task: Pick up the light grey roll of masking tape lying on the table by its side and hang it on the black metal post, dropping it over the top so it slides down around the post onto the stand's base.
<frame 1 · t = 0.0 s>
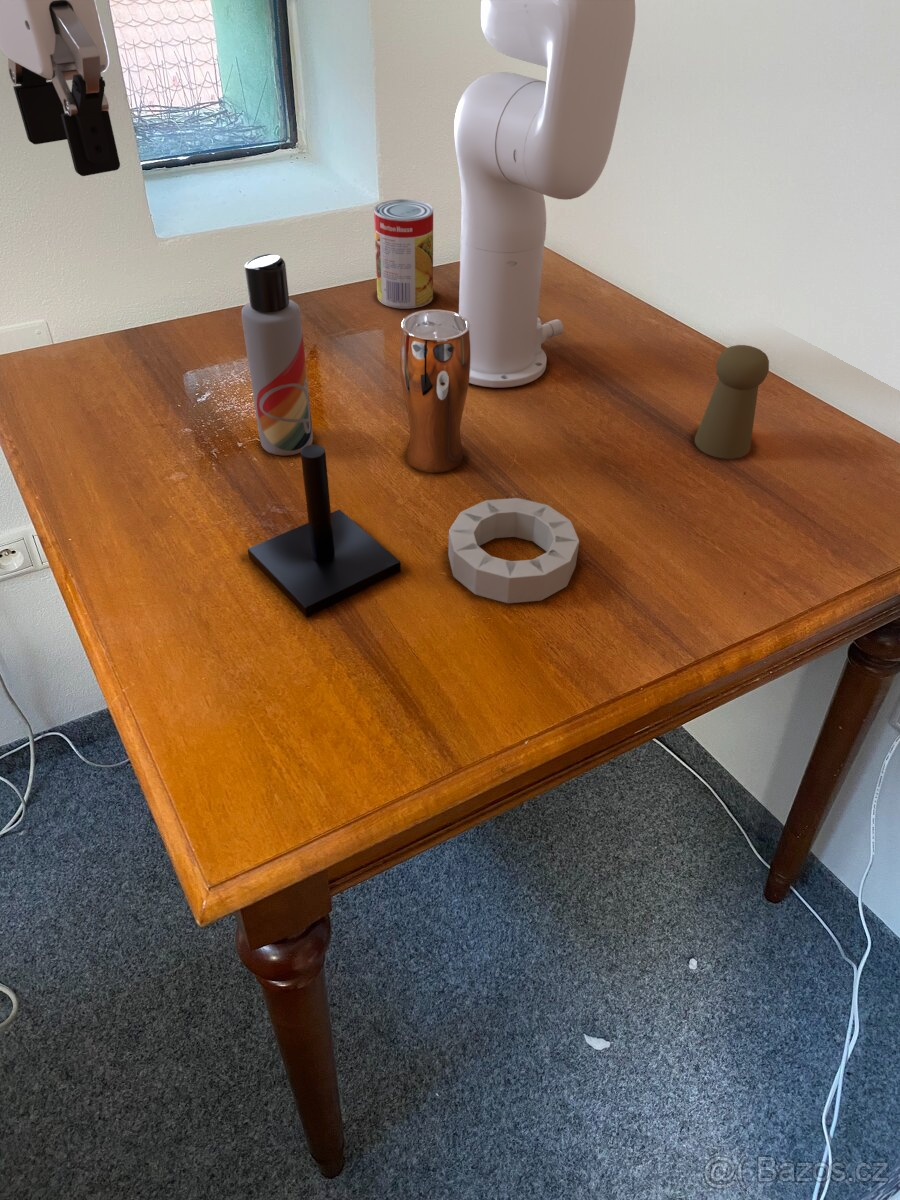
hand: (73, 155, 67), 31 cm above the table, tool pointing down, fingers open, 9 cm apart
tape roll: (511, 561, 81), on the table
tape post: (324, 565, 80), on the table
lotion bottle: (287, 444, 95), on the table
olive pawn figure: (721, 445, 97), on the table
beer glass: (434, 459, 94), on the table
canned food: (405, 298, 124), on the table
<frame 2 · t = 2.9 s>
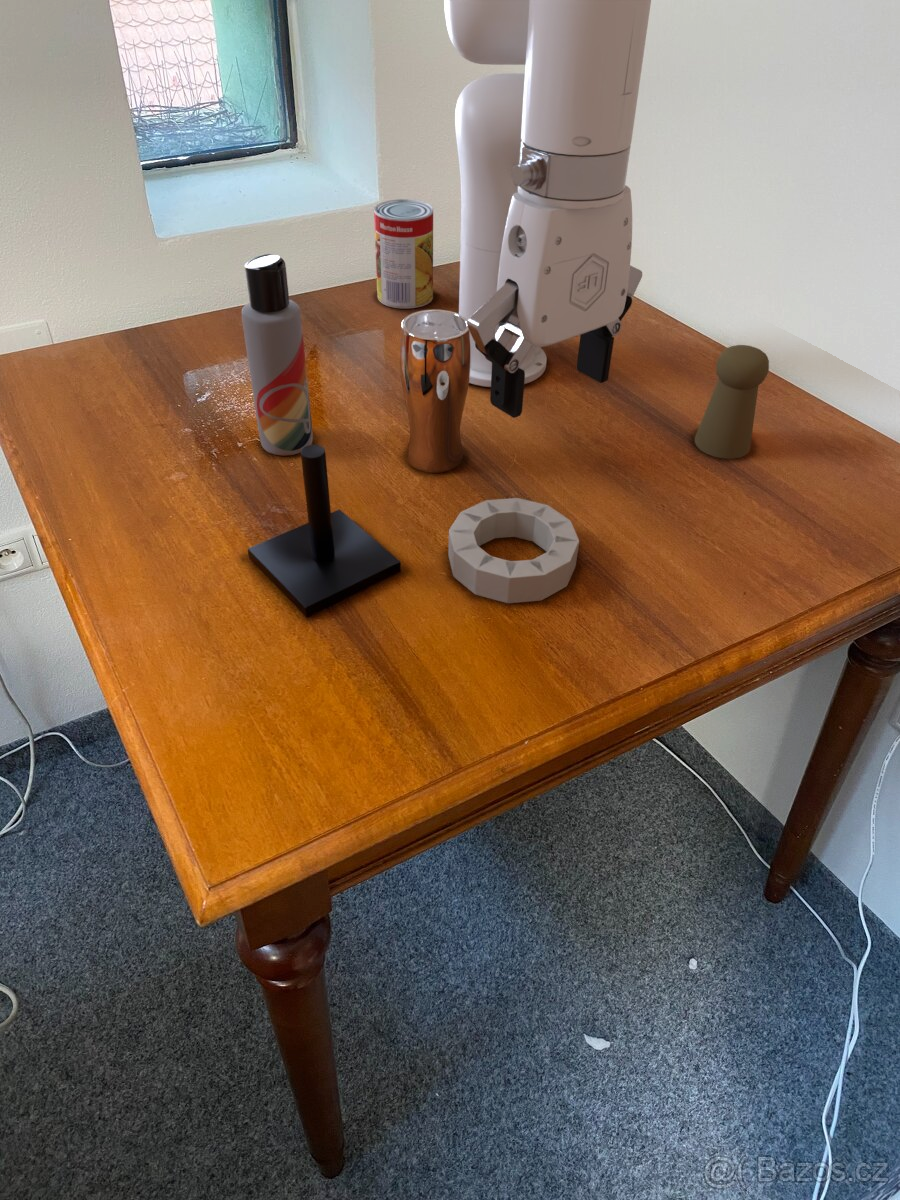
hand: (549, 392, 72), 16 cm above the table, tool pointing down, fingers open, 9 cm apart
nothing on the table moved.
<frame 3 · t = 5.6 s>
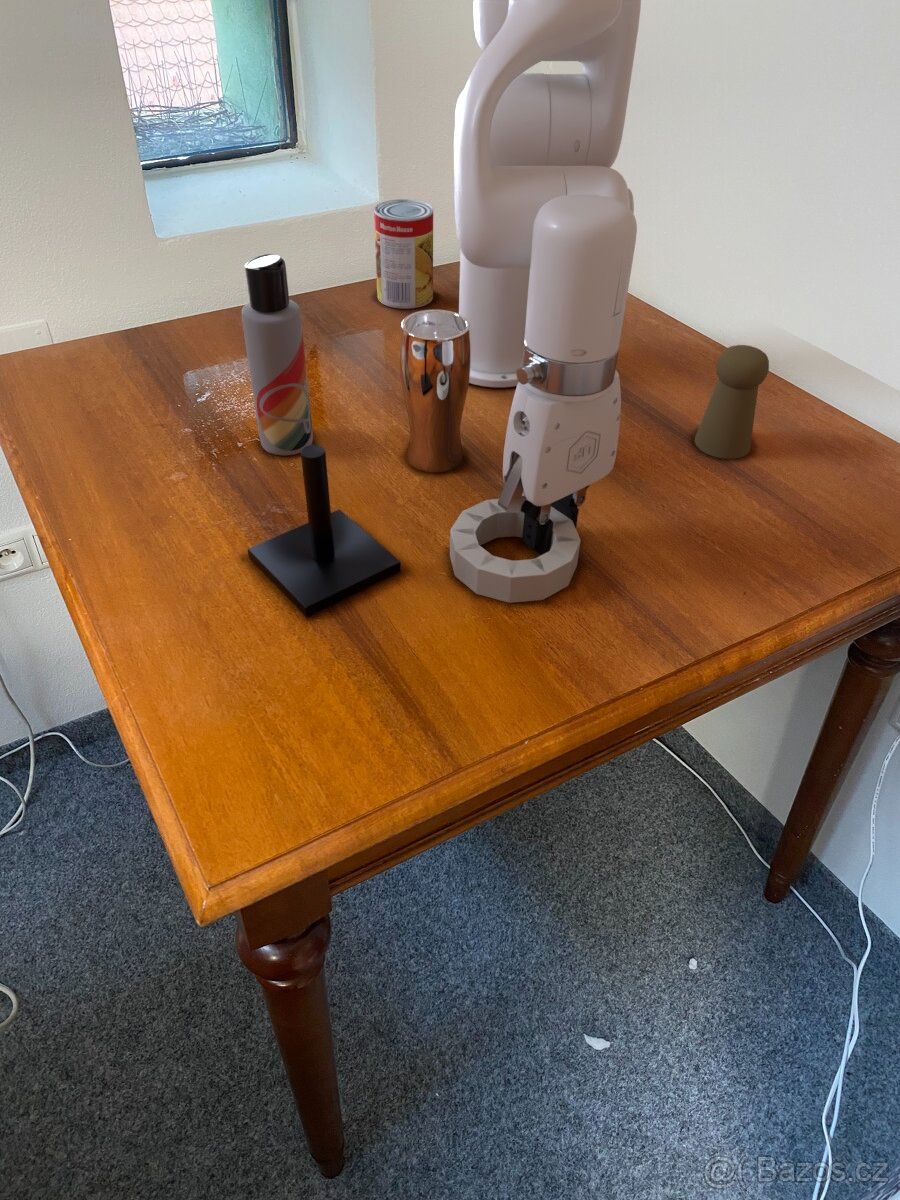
hand: (548, 540, 83), 0 cm above the table, tool pointing down, fingers closed on tape roll, 2 cm apart
tape roll: (513, 560, 81), on the table, touching gripper
everything else where it was.
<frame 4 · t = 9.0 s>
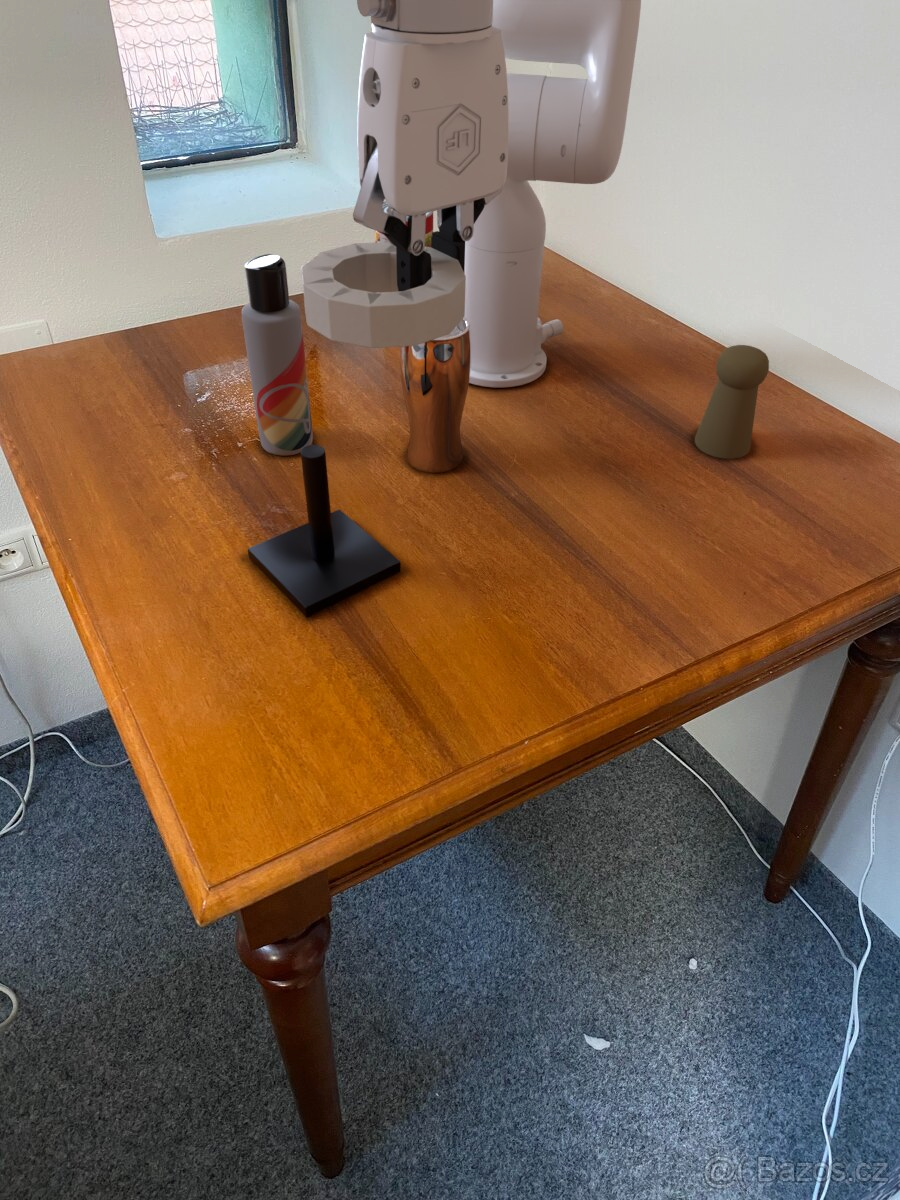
hand: (431, 294, 66), 24 cm above the table, tool pointing down, fingers closed on tape roll, 2 cm apart
tape roll: (384, 312, 64), point 24 cm above the table, touching gripper
everything else where it was.
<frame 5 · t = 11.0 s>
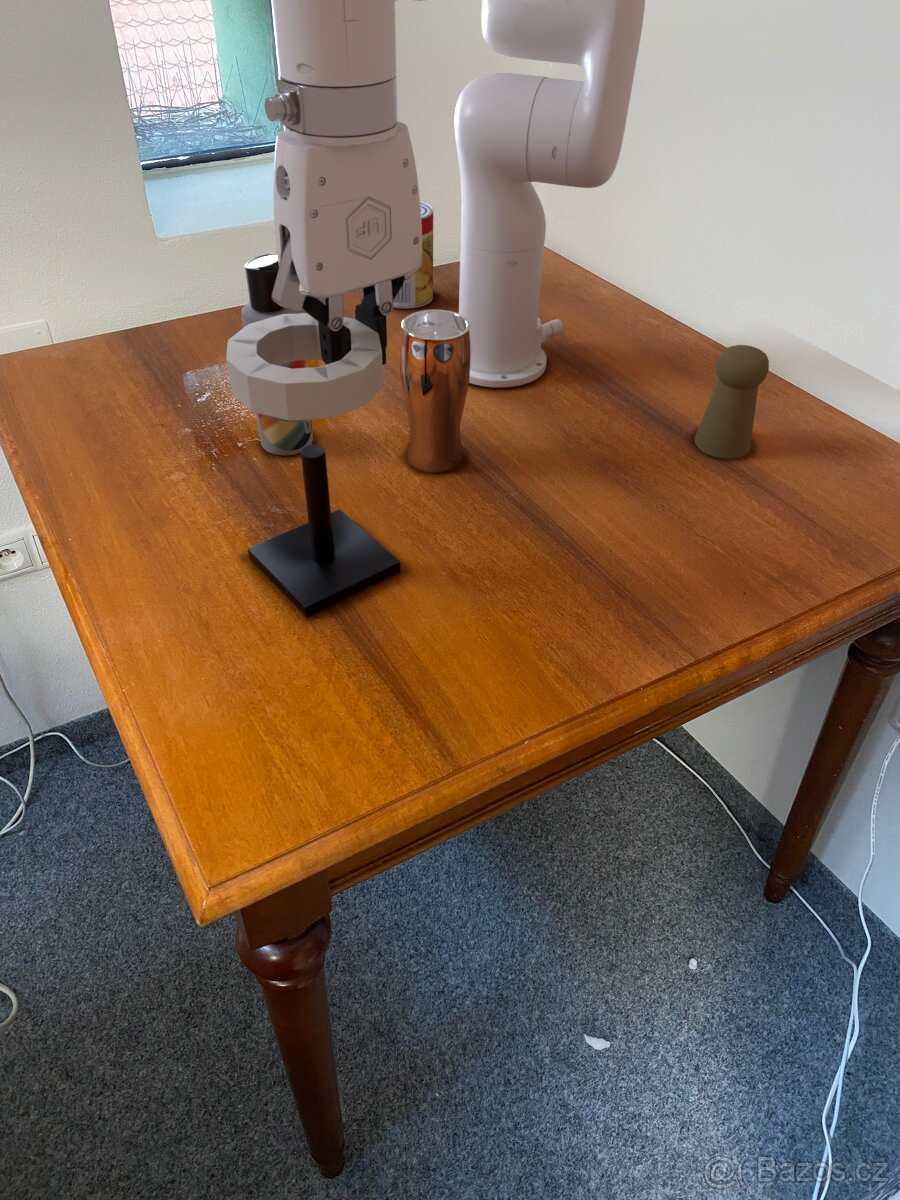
hand: (355, 362, 70), 19 cm above the table, tool pointing down, fingers closed on tape roll, 2 cm apart
tape roll: (307, 381, 68), point 18 cm above the table, touching gripper
everything else where it was.
when the fingers open (15 cm above the table, at t = 12.5 s): tape roll drops 13 cm, resting on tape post.
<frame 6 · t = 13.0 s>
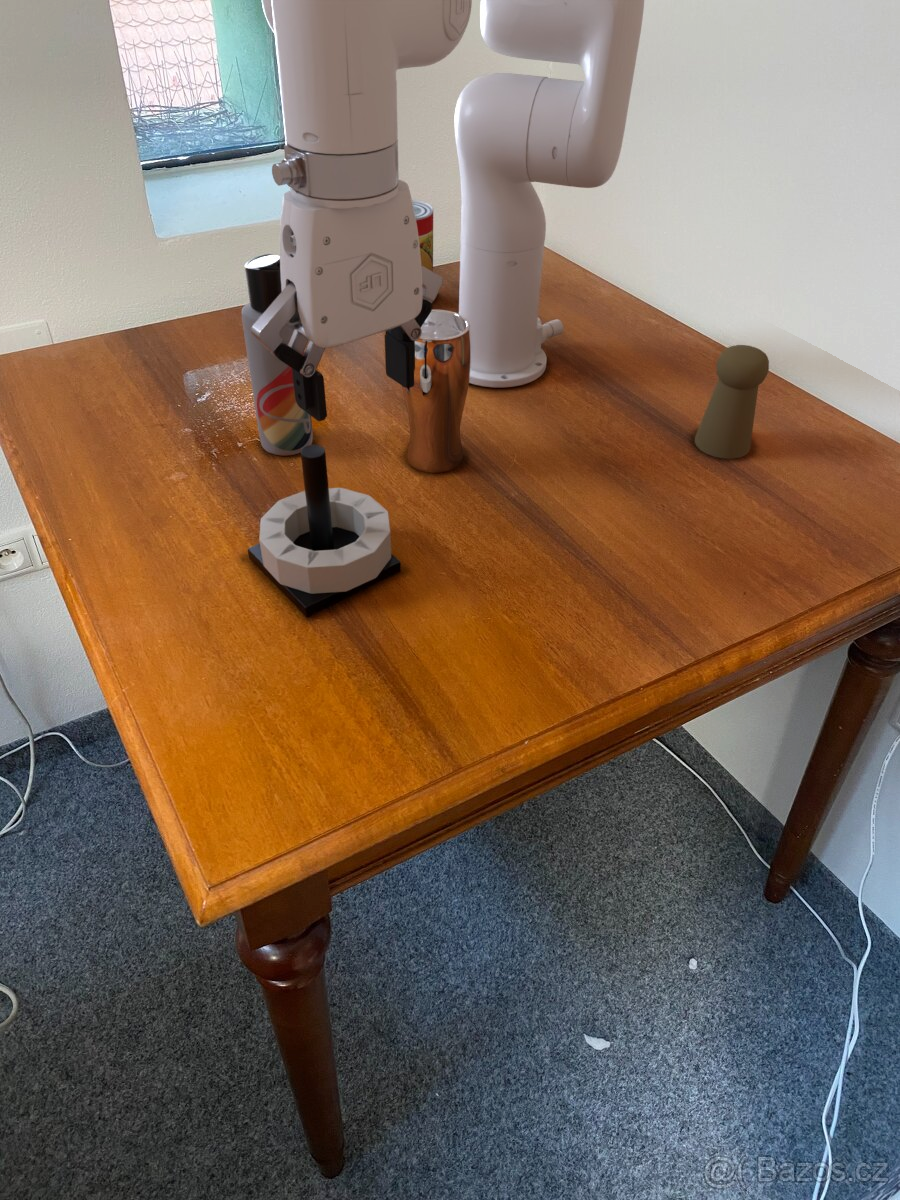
hand: (357, 396, 72), 16 cm above the table, tool pointing down, fingers open, 8 cm apart
tape roll: (327, 551, 80), point 1 cm above the table, touching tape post
everything else where it was.
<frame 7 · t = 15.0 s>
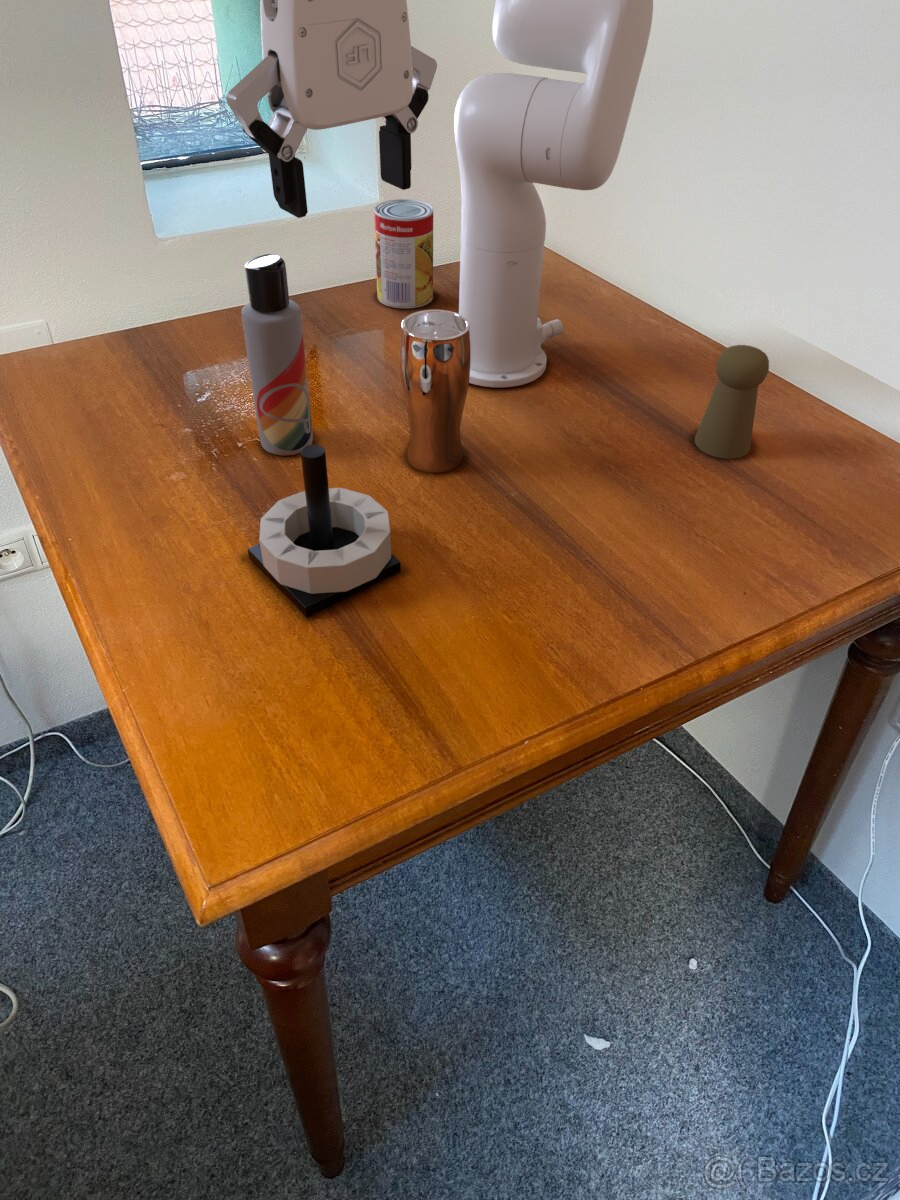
hand: (346, 198, 68), 29 cm above the table, tool pointing down, fingers open, 9 cm apart
nothing on the table moved.
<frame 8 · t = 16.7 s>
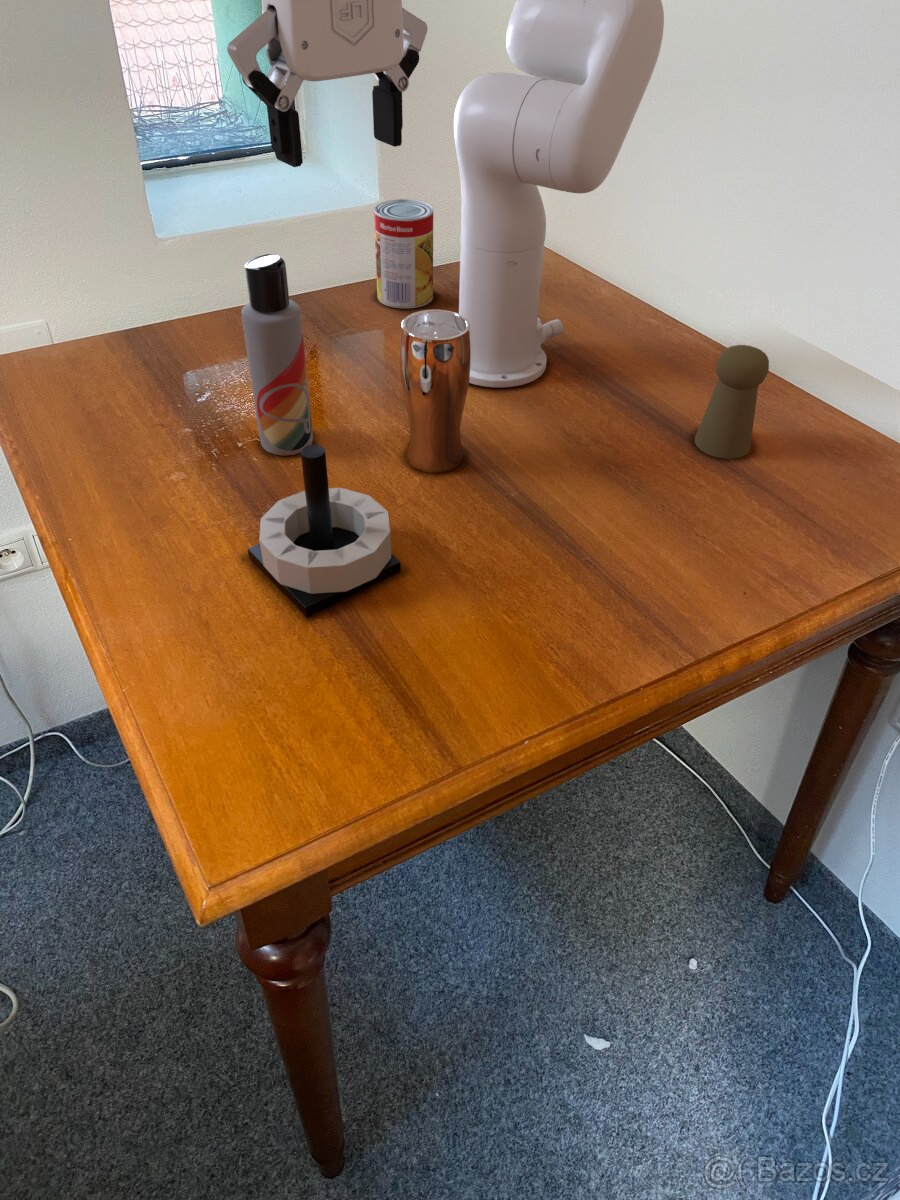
hand: (340, 152, 72), 30 cm above the table, tool pointing down, fingers open, 9 cm apart
nothing on the table moved.
at the end: tape roll 0.6 cm from the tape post (horizontally); tape roll point 1.2 cm above the table; tape roll tilted 0° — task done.
